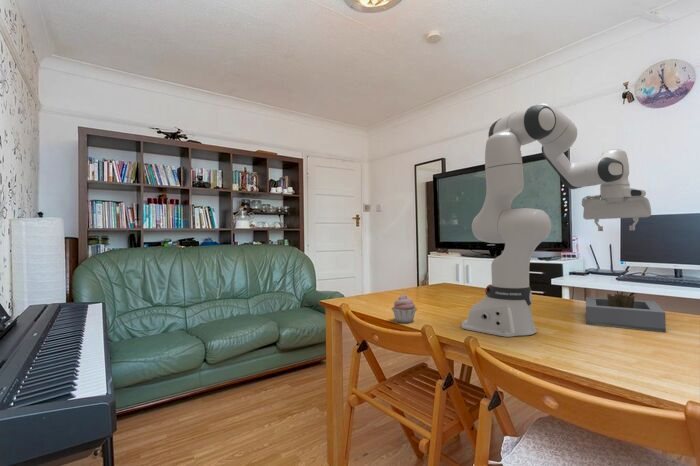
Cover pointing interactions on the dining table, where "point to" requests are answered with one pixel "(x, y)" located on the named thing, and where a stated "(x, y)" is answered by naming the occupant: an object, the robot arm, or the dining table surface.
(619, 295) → the wire cup brush
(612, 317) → the gray square tray
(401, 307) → the cupcake
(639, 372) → the dining table surface
